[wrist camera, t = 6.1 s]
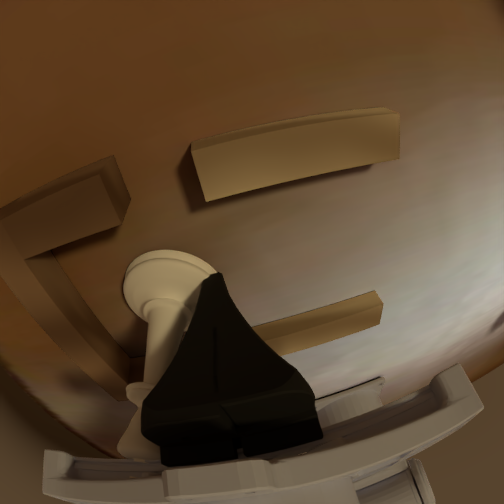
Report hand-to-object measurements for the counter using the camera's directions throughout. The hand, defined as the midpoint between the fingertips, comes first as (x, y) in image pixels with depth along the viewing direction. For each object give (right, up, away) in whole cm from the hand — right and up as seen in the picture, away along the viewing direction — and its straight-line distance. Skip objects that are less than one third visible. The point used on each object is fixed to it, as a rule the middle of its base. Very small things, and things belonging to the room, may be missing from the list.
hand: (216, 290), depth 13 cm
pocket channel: (+4, +2, +1) cm, 5 cm away
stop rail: (-6, -1, +1) cm, 6 cm away
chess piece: (-2, 0, +1) cm, 2 cm away
